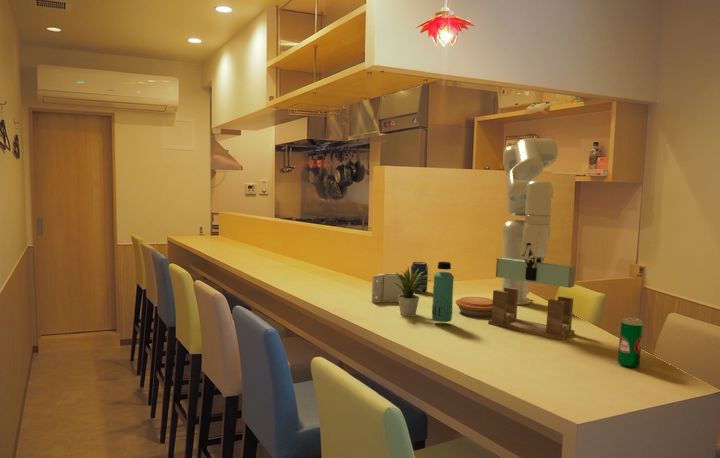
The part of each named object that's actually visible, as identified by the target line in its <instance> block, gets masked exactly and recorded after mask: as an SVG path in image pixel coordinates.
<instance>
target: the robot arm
mask: <svg viewBox="0 0 720 458" xmlns="http://www.w3.org/2000/svg"><path fill="white" fill-rule="evenodd" d="M558 155H559V147H558V144H557V142H556V141H555V140H554V139H552V138H538V137H537V138H536V137H535V138H533V137H529V138H528V137H527V138H523V139H521V140H518V141H517V143H516V144H512V145H509V146H506V147H505V148H504V150H503V155H502V156H503V157H502V158H503V159H502V161H503V167H504V170H505V174H506V176H507V177H506V182H505V183H506V185H505V186H506V187H505V188H506V195H507V212H508V214H509V215H510V216H513V217H520V218H521V217H522V218H524V219H512V220H510V219H509V220H508V221H506V222H504V224H503V225H502V240H503V256H502V258H510V259H518V260H525V262H526V278H525V279H526V280H531V281H536V272H537V268H535V267H536V262H542V263H544V260H545V257H547V255H548V249H549V243H550V240H551V226H552V225H551V224H552V223H551V221H552V200H553V198H554V186H553V184H552V183H551V182H550V181H546V180H533V179H535V178H537V177H538V176H540V175H542V172H543V171H544V169H548V168H549V167H551V166H552V165H553V164H554V163H555V162H556V161H557V159H558ZM505 287H510V288H516V289H518V301H517V306H518V305H519V306H520V305H521V306H522V305H523V306H524V305H529V304H531V299H530V298H529V297H527V296H528V294H530V290H529V289H528V281H521V280H514V279H508V278H501V290H500V291H504V288H505Z"/></svg>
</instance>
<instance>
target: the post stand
mask: <svg viewBox="0 0 720 458" xmlns="http://www.w3.org/2000/svg"><path fill="white" fill-rule="evenodd" d="M492 299H493V305H492V316H491V319H489V320H488V325H491V326H497V327H501V328H505V329H509V330H516V331H520V332H522V333H523V332H524V333H528V334H533V335H537V336H542V337H547V338H551V339H557V340H561V341H562V340H565V339H566V338H569V337H570V336H573V335H575V331H576V330H573V329H572V325H573V324H572V321H573V308H574V307H573V306H574V297H568V296H563V295H559V296H557V299H552V298H551V299H548V300H547V312H546V313H547V314H546V324H544V323H540V322H534V321H529V320H525V319H519V318H517V314H518V313H517V312H518V305H517V301H518V289H516V288H510V287H505V288H504V291H501V290H500V289H494V290H493V291H492Z"/></svg>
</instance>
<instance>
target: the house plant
mask: <svg viewBox="0 0 720 458" xmlns="http://www.w3.org/2000/svg"><path fill="white" fill-rule="evenodd" d="M418 270H419V268H418V269H417V270H416V272H415V273H414V274H413V276H412V277H411V271H410V268H409V266H408V267H407V269H405V271H400V272H401V273H402V274H404V275H405V278H404V277H403V276H402V275H400V274H401V273H398V272H395V274H397V275H398V277H399V278H400V280H401V283H402V285H403V287H404V288H402V287H401V286H400V285H399V284H397V283H392V284H394V285H396V286H398V287H399V291H401V290H402V292H403V293H404V294H401V295H399V296H398V298H399V302H398V304H399V313H400V315H401V316H404V317H414V316H416V314H417V309H418V305H419V300H420V296H419V295H417V293H416V292H417V290H420V291H421V292H422V290H421V289H423V288H425V286H426V285H424V286H422V285H420V286H422V287H420V286H417V287H416V285H417V284H419V283H422V282H425V281H427V282H430V281H432V279H428V280H422V281H420V280H421V279H420V278H419V277H420V276H421V274H422V273H423V272H421V273H420V274H418V275H417V276H416V274H417V271H418ZM424 272H425V271H424ZM425 276H427V275H425ZM399 278H398V279H399ZM418 278H419V279H420V280H419V279H418ZM421 278H422V277H421ZM423 278H426V277H424V276H423ZM423 278H422V279H423ZM418 280H419V281H418ZM417 281H418V282H417ZM415 287H416V288H415ZM418 287H420V288H418ZM400 289H401V290H400ZM426 289H427V290H428V287H427V288H426ZM399 291H398V292H399Z"/></svg>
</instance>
